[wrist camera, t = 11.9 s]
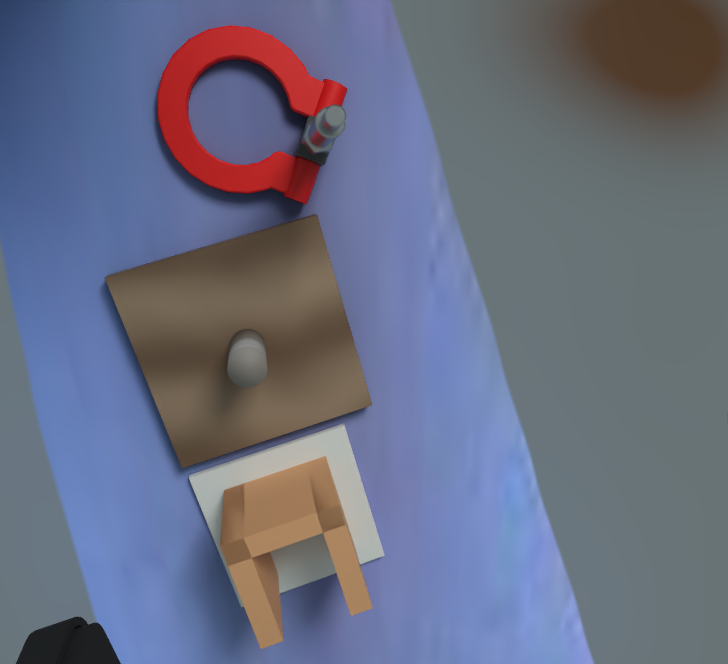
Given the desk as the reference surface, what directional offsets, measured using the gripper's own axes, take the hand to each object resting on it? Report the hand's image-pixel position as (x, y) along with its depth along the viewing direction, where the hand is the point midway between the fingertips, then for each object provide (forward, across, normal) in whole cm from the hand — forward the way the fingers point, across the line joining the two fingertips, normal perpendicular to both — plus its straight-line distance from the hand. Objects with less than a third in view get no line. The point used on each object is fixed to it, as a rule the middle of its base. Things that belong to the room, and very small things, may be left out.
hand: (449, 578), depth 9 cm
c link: (+27, +4, +16) cm, 32 cm away
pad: (+28, +4, +16) cm, 32 cm away
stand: (+28, +4, +4) cm, 29 cm away
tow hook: (+29, 0, -8) cm, 30 cm away
